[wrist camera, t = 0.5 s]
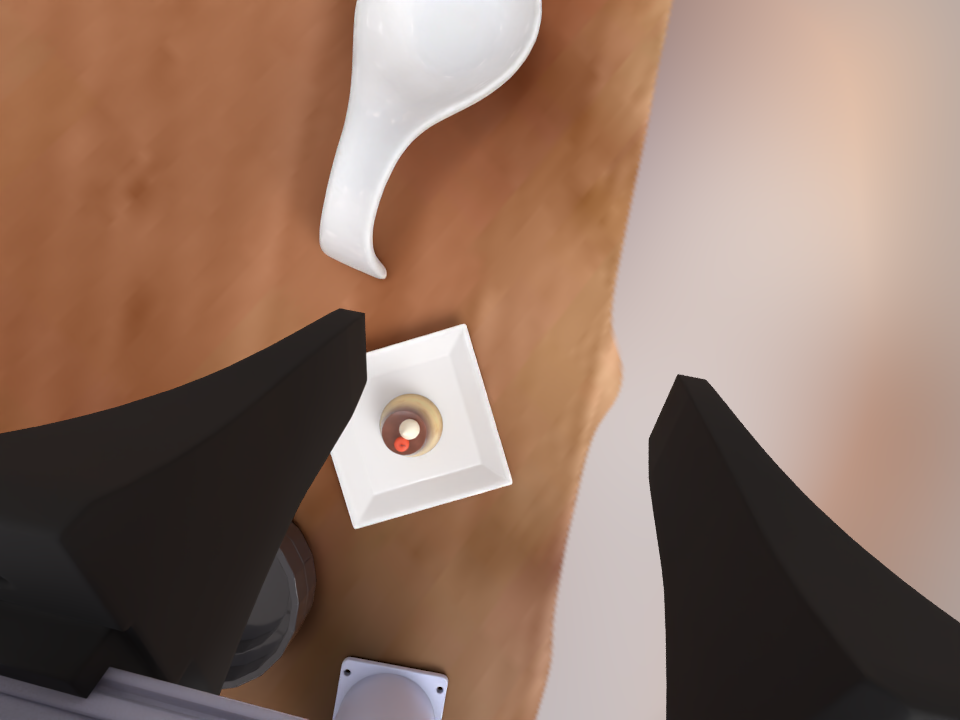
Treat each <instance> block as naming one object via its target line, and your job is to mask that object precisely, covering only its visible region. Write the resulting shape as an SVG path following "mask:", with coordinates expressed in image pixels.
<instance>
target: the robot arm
mask: <svg viewBox="0 0 960 720" xmlns="http://www.w3.org/2000/svg"><path fill="white" fill-rule="evenodd" d="M366 383H367V360H366V334H365V313H361V312H356V311H350V310H345V309H338V310H336V311H333V312H331V313H330V314H328V315H326V316H324V317H322V318H320V319H319V320H317V321H315V322H313V323H311V324H310V325H308V326H306V327H304V328H302V329H301V330H299V331H297V332H295V333H293V334H292V335H290V336H288V337H286V338H284V339H282V340H281V341H279V342H277V343H275V344H273V345H271V346H269V347H268V348H265V349H263V350H261V351H259V352H257V353H255V354H253V355H251V356H249V357H247V358H245V359H243V360H241V361H239V362H237V363H235V364H233V365H231V366H229V367H226V368H224V369H222V370H220V371H217V372H215V373H213V374H210V375H208V376H206V377H203V378H200V379H198V380H195V381H193V382H190V383H188V384H185V385H182V386H180V387H177V388H174V389H172V390H169V391H165V392H162V393H159V394H156V395H153V396H150V397H147V398H144V399H141V400H137V401H134V402H131V403H128V404H125V405H122V406H118V407H115V408H111V409H108V410H104V411H100V412H96V413H93V414H89V415H85V416H81V417H77V418H72V419H68V420H64V421H60V422H56V423H51V424H47V425H42V426H38V427H32V428H27V429H22V430H17V431H11V432H6V433H1V434H0V720H309V719H305V718H301V717H297V716H294V715H290V714H286V713H282V712H278V711H275V710H271V709H267V708H263V707H260V706H256V705H252V704H248V703H245V702H241V701H237V700H233V699H229V698H226V697H222V696H219V695H220V692H221V689H222V686H223V684H224V681H225V678H226V676H227V673H228V671H229V668H230V665H231V663H232V660H233V658H234V655H235V652H236V650H237V647H238V645H239V642H240V639H241V637H242V634H243V632H244V629H245V627H246V624H247V622H248V620H249V617H250V615H251V612H252V610H253V607H254V605H255V603H256V600H257V598H258V595H259V593H260V591H261V588H262V586H263V583H264V581H265V579H266V577H267V574H268V572H269V570H270V568H271V565H272V563H273V561H274V559H275V556H276V554H277V552H278V550H279V547H280V545H281V543H282V541H283V539H284V536H285V534H286V532H287V530H288V528H289V526H290V524H291V522H292V519H293V517H294V515H295V513H296V511H297V509H298V507H299V505H300V503H301V501H302V499H303V498H304V496H305V494H306V492H307V490H308V489H309V487H310V485H311V484H312V482H313V480H314V479H315V477H316V476H317V474H318V472H319V471H320V469H321V467H322V466H323V464H324V462H325V461H326V459H327V457H328V456H329V454H330V453H331V451H332V449H333V448H334V446H335V444H336V443H337V441H338V439H339V438H340V436H341V434H342V433H343V431H344V429H345V428H346V426H347V424H348V423H349V421H350V419H351V417H352V416H353V413H354V411H355V409H356V407H357V404H358V402H359V400H360V397H361V395H362V393H363V390H364V388H365V385H366ZM649 484H650V491H651V499H652V505H653V512H654V520H655V526H656V533H657V540H658V546H659V553H660V560H661V567H662V575H663V585H664V602H665V628H666V677H667V678H666V679H667V693H666V694H667V695H666V700H667V701H666V702H667V703H666V720H960V623H959V622H958V621H957V620H955V619H954V618H952V617H951V616H950V615H948V614H947V613H946V612H944V611H943V610H941V609H940V608H938V607H937V606H936V605H934V604H933V603H932V602H930V601H929V600H928V599H926V598H925V597H924V596H922V595H921V594H920V593H918V592H917V591H916V590H915V589H913V588H912V587H911V586H909V585H908V584H907V583H905V582H904V581H903V580H902V579H900V578H899V577H898V576H897V575H895V574H894V573H893V572H892V571H890V570H889V569H888V568H887V567H885V566H884V565H883V564H882V563H881V562H879V561H878V560H877V559H876V558H875V557H873V556H872V555H871V554H870V553H868V552H867V551H866V550H865V549H864V548H862V547H861V546H860V545H859V544H858V543H857V542H855V541H854V540H853V539H852V538H851V537H850V536H848V535H847V534H846V533H845V532H844V531H843V530H842V529H841V528H840V527H839V526H838V525H837V524H836V523H834V522H833V521H832V520H831V519H830V518H829V517H828V516H827V515H826V514H825V513H824V512H823V511H822V510H821V509H819V508H818V507H817V506H816V505H815V504H814V503H813V502H812V501H811V500H810V499H809V498H808V497H807V496H806V495H805V494H804V493H803V492H802V491H801V490H800V489H799V488H798V487H797V486H796V485H795V483H794V482H793V481H792V480H791V479H790V478H789V477H788V476H787V475H786V474H785V473H784V472H783V471H782V470H781V469H780V468H779V467H778V465H777V464H776V463H775V462H774V461H773V460H772V458H771V457H770V456H769V455H768V454H767V453H766V452H765V451H764V449H763V448H762V447H761V446H760V445H759V444H758V442H757V441H756V440H755V439H754V438H753V436H752V435H751V434H750V433H749V432H748V430H747V429H746V428H745V427H744V425H743V424H742V423H741V422H740V421H739V420H738V418H737V417H736V416H735V414H734V413H733V412H732V411H731V410H730V408H729V407H728V406H727V404H726V403H725V402H724V401H723V400H722V398H721V397H720V396H719V394H718V393H717V392H716V391H715V390H714V388H713V387H712V386H711V385H710V384H709V383H708V382H707V380H705V379H700V378H694V377H689V376H684V375H679V374H678V375H677V377H676V379H675V382H674V384H673V386H672V388H671V390H670V393H669V395H668V397H667V399H666V402H665V404H664V406H663V408H662V411H661V413H660V415H659V417H658V419H657V422H656V424H655V426H654V429H653V431H652V433H651V435H650V437H649ZM346 669H348V670H350V673H348V672H346V671H345V670H346ZM447 685H448V678H447V676H445V675H444V674H440V673H434V672H429V671H423V670H418V669H413V668H407V667H402V666H397V665H391V664H386V663H381V662H375V661H370V660H365V659H359V658H354V657H347V658H345V659H344V661H343V663H342V667H341V673H340V679H339V684H338V690H337V696H336V702H335V708H334V714H333V719H332V720H441V719H442V713H443V707H444V702H445V696H446V691H447ZM437 687H442V688H443V689H442V690H439V689H438V688H437Z"/></svg>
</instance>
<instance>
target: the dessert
mask: <svg viewBox="0 0 960 720" xmlns="http://www.w3.org/2000/svg"><path fill="white" fill-rule="evenodd" d="M366 360H367V383H366V385H365V388H364V390H363V393H362V395H361V397H360V400H359V402H358V404H357V407H356V409H355V411H354V413H353V416H352V417H351V419H350V421H349V423H348V424H347V426H346V428H345V429H344V431H343V433H342V434H341V436H340V438H339V439H338V441H337V443H336V444H335V446H334V448H333V449H332V451H331V456H332V459H333V462H334V466H335V469H336V472H337V475H338V479H339V482H340V485H341V488H342V492H343V495H344V498H345V501H346V505H347V508H348V511H349V514H350V518H351V521H352V524H353V527H354V528H355V529H358V528H361V527H365V526H368V525H372V524H375V523H378V522H382V521H385V520H389V519H392V518H396V517H399V516H403V515H406V514H410V513H413V512H417V511H420V510H424V509H427V508H431V507H434V506H438V505H441V504H445V503H448V502H452V501H455V500H459V499H462V498H466V497H469V496H473V495H476V494H479V493H483V492H486V491H490V490H493V489H497V488H500V487H504V486H507V485H511V484H512V478H511V475H510V471H509V468H508V465H507V461H506V458H505V455H504V451H503V448H502V444H501V441H500V438H499V434H498V431H497V428H496V424H495V421H494V417H493V414H492V411H491V407H490V404H489V401H488V397H487V394H486V390H485V387H484V384H483V380H482V377H481V374H480V370H479V367H478V364H477V360H476V357H475V353H474V350H473V347H472V343H471V340H470V337H469V333H468V330H467V326H466V325H465V324H461V325H458V326H454V327H451V328H448V329H444V330H441V331H438V332H434V333H431V334H428V335H424V336H421V337H418V338H414V339H411V340H407V341H404V342H401V343H397V344H394V345H391V346H387V347H384V348H381V349H377V350H374V351H371V352H367V353H366Z"/></svg>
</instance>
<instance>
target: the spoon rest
mask: <svg viewBox="0 0 960 720" xmlns="http://www.w3.org/2000/svg"><path fill="white" fill-rule="evenodd" d="M541 16H542V1H541V0H357V3H356V8H355V17H354V32H353V59H352V77H351V90H350V97H349V103H348V109H347V114H346V119H345V123H344V127H343V131H342V134H341V138H340V140H339V144H338V147H337V150H336V154H335V158H334V161H333V165H332V169H331V173H330V177H329V181H328V186H327V190H326V195H325V200H324V204H323V210H322V215H321V222H320V246H321V249H322V251H323V252H324V253H325V254H326V255H328V256H329V257H331V258H333V259H335V260H337V261H339V262H341V263H344V264H346V265H348V266H350V267H352V268H355V269H357V270H359V271H362V272H364V273H366V274H369V275H371V276H373V277H376V278H379V279H385V278H386V276H387V272H386V269H385V267H384V265H383V264H382V263H381V262H380V261H379V259H378V258H377V257H376V255H375V252H374V248H373V226H374V221H375V216H376V212H377V209H378V206H379V202H380V199H381V196H382V193H383V191H384V188H385V186H386V183H387V181H388V179H389V177H390V175H391V173H392V171H393V169H394V167H395V165H396V163H397V161H398V160H399V158H400V156H401V155H402V154H403V152H404V151H405V149H406V148H407V147H408V146H409V145H410V144H411V143H412V141H413V140H414V139H416V138H417V137H418V136H419V135H420V134H421V133H423V132H424V131H425V130H427V129H428V128H430V127H431V126H433V125H435V124H436V123H438V122H440V121H441V120H443V119H445V118H448V117H450V116H452V115H454V114H456V113H458V112H460V111H462V110H464V109H465V108H467V107H469V106H471V105H473V104H475V103H477V102H478V101H480V100H482V99H483V98H485V97H486V96H488V95H489V94H491V93H492V92H494V91H495V90H496V89H498V88H499V87H500V86H502V85H503V84H504V83H505V82H506V81H507V80H509V79H510V78H511V77H512V76H513V75H514V74H515V72H516V71H517V70H518V69H519V68H520V66H521V65H522V64H523V62H524V61H525V60H526V58H527V56H528V55H529V53H530V51H531V49H532V47H533V45H534V43H535V41H536V38H537V36H538V32H539V28H540V23H541Z"/></svg>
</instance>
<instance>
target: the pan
mask: <svg viewBox="0 0 960 720" xmlns="http://www.w3.org/2000/svg"><path fill="white" fill-rule="evenodd" d="M315 587H316V573H315V567H314V560H313V555H312V553H311V551H310V549H309V547H308V545H307V543H306V541H305V539H304V537H303V535H302V533H301V531H300V530H299V529H298V528H297V527H296V526H295V524H294V523H293V522H291V524H290V526H289V528H288V530H287V532H286V534H285V536H284V539H283V541H282V543H281V545H280V547H279V550H278V552H277V554H276V556H275V559H274V561H273V563H272V565H271V568H270V570H269V572H268V574H267V577H266V579H265V581H264V583H263V586H262V588H261V591H260V593H259V595H258V598H257V600H256V603H255V605H254V607H253V610H252V612H251V615H250V617H249V620H248V622H247V624H246V627H245V629H244V632H243V634H242V637H241V639H240V642H239V645H238V647H237V650H236V652H235V655H234V658H233V660H232V663H231V665H230V668H229V671H228V673H227V676H226V678H225V681H224V684H223V686H222V689H227V688H235V687H238V686H240V685H242V684H244V683H246V682H249V681H251V680H253V679H255V678H257V677H259V676H261V675H262V674H264V673H265V672H266V671H267V670H268V669H269V668H270V667H271V666H272V665H273V664H274V663H275V662H276V661H277V660H278V659H279V658H280V657H281V656H282V655H283V653H284V652H285V650H286V649H287V647H288V646H289V644H290V643H291V641H292V640H293V638H294V637H295V635H296V634H297V632H298V631H299V629H300V628H301V626H302V624H303V622H304V620H305V618H306V616H307V615H308V613H309V611H310V609H311V607H312V605H313V599H314V593H315Z"/></svg>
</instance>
